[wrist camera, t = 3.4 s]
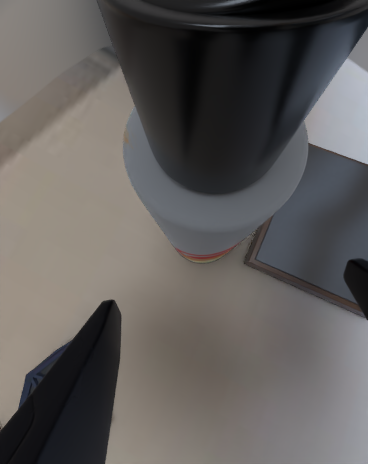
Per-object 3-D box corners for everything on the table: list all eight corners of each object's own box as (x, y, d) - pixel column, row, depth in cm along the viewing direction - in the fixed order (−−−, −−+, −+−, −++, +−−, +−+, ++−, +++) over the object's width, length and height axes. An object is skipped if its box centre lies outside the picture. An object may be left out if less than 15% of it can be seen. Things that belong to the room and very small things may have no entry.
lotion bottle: (233, 265, 21) (731, 90, 1) (170, 262, 21) (-120, 97, 2) (232, 204, 22) (514, -366, 3) (172, 203, 22) (12, -310, 3)
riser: (405, 193, 21) (430, 184, 19) (366, 318, 20) (388, 323, 17) (289, 150, 23) (300, 137, 21) (243, 263, 21) (249, 261, 19)
